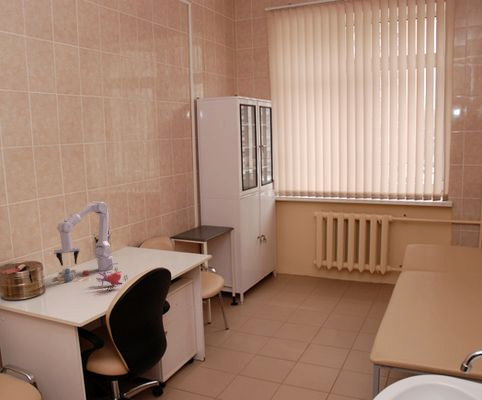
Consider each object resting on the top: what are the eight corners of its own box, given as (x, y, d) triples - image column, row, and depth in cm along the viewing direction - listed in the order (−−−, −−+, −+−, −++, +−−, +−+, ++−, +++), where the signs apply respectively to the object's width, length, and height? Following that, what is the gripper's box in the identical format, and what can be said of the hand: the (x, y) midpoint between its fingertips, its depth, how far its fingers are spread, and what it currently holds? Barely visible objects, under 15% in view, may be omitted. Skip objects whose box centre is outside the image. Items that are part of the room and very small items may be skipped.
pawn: (72, 279, 282) (71, 267, 280) (71, 281, 278) (70, 269, 277) (65, 280, 281) (64, 268, 280) (64, 282, 277) (63, 269, 276)
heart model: (117, 294, 259) (89, 286, 264) (125, 292, 267) (98, 285, 273) (123, 266, 260) (95, 259, 265) (131, 266, 268) (103, 259, 273)
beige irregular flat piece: (95, 273, 295) (94, 267, 294) (92, 282, 278) (92, 275, 277) (57, 278, 290) (57, 271, 290) (53, 287, 274) (52, 279, 273)
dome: (72, 274, 290) (71, 266, 289) (71, 277, 285) (70, 268, 284) (62, 275, 289) (61, 267, 288) (61, 278, 284) (60, 269, 283)
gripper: (52, 245, 273) (54, 268, 275) (78, 242, 276) (81, 265, 278) (54, 242, 280) (56, 264, 282) (79, 239, 283) (82, 261, 285)
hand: (68, 264), depth 281 cm, fingers open, 7 cm apart
